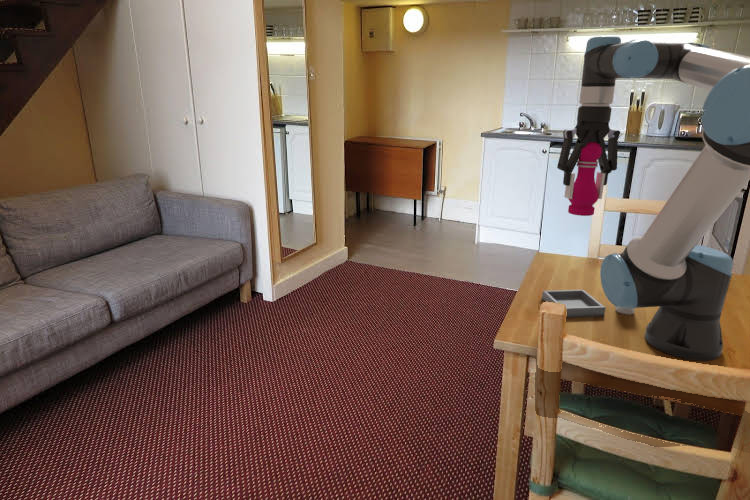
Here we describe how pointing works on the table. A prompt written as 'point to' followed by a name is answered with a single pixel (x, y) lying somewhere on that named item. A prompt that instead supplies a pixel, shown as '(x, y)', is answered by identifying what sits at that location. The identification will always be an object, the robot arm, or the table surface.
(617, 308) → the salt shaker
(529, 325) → the table surface
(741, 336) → the table surface
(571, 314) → the tray
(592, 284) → the table surface
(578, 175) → the pepper mill
